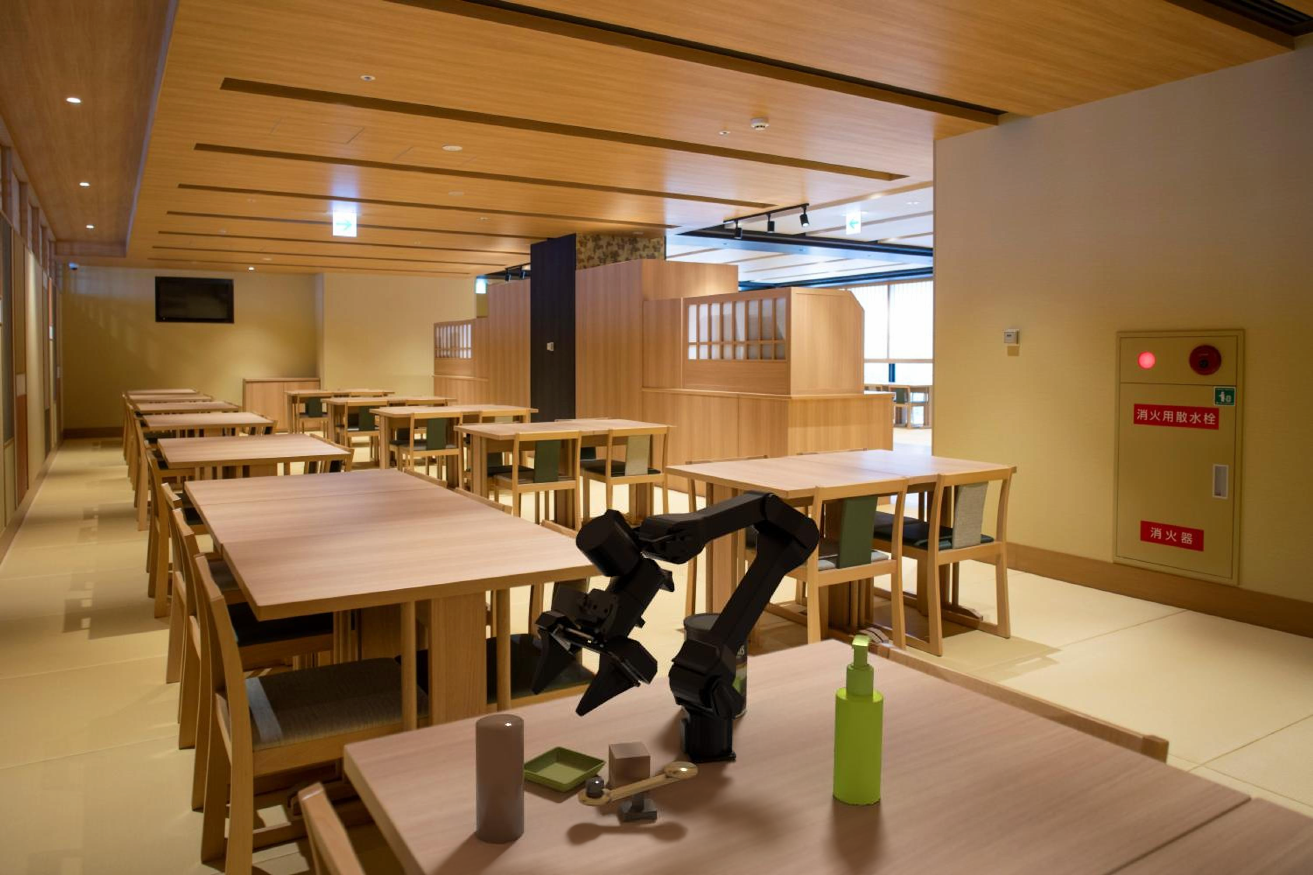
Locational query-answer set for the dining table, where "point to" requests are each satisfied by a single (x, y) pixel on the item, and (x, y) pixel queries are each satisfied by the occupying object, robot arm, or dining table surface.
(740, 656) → the coffee can
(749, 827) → the dining table surface
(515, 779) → the brown cylinder
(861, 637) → the soap dispenser
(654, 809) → the balance
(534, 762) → the green square dish
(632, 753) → the block
